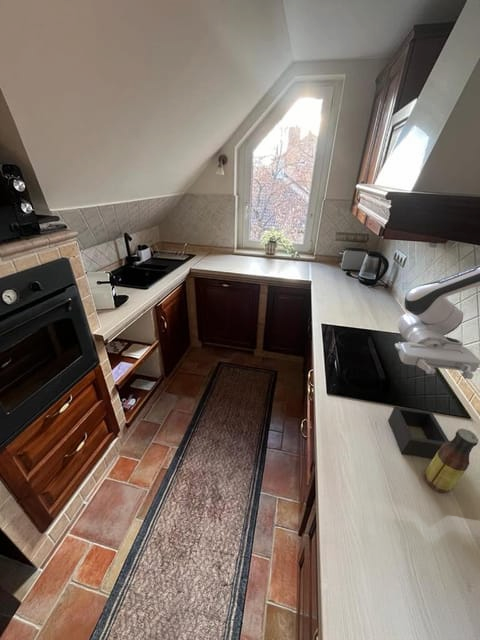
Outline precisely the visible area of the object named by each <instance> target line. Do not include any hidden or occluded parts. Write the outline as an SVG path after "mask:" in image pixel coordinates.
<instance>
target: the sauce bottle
mask: <svg viewBox="0 0 480 640" xmlns="http://www.w3.org/2000/svg"><path fill="white" fill-rule="evenodd" d="M478 443H479V438H478V436H477V435H476V434H475V433H473V432H472V431H471V430H468V429H465V428H459V429H457V431H456V432H455V436H454V437H453V438H452V440H449V441H448V442H445V443H443V445H442V446H441V448H440V449H439V450H438V452H437V453H436V455H435V457H434V458H433V459H431V462H430V463H429V465H428V466H427V468H426V469H425V472H424V479H425V481H426V483H427V484H428V485H429V486H430V487H431V488H432V489H433V490H434V491H437V492H439V493H443V494H445V493H449V492H450V491H451V490H453V488H454V487H455V485H456V484H457V483H458V482H459V480H460V479H461V477H463V475H464V473H465V472H466V471H467V469H468V468H469V466H470V454H471V453H472V450H473V448H474V447H476V446H478Z"/></svg>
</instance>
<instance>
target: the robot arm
mask: <svg viewBox="0 0 480 640" xmlns="http://www.w3.org/2000/svg"><path fill="white" fill-rule="evenodd" d="M474 288H480V264H477V265H475V266H472V267H468V268H466V269H464V270H460V271H458V272H457V273H456V272H455V273H453V274H451V275H447V276H445V277H442V278H440V279H438V280H435V281H432V282H428V283H424V284H420V285H416V286H415V287H413V288H411V289H410V290H409V291H407V293H406V294H405V298H404V305H403V306H404V309H405V310H406V311H408V312H406V313H404V314H402V315H401V316H400V317H399V319H398V321H397V328H398V331H399V334H400V336H401V337H402V339H403V340H404V341H403V342H402V341H398V342H396V343H394V348H395V350H397V354H398V357H399V359H400V361H401V362H402V363H403V364H405V365H409V366H417V367H418V368H420V369H421V370H422V371H425V373H426V374H427V375H432V376H434V375H435V373H436V369H442V370H452V371H453V370H454V371H461V372H462V373H461V377H463V379H467V380H472V379H473V377H474V373H475V372H476V371H477V370H478V369H479V368H480V359H479V357H477V356H476V355H475V354H474V353H473V351H471V350H470V349H469V348H468V347H466V346H464V345H463V344H464V343H463V341H461V340H459V339H456V338H452V337H449V336H446V335H448V334H450V333H452V332H454V331H455V330H456V329H458V327H459V326H461V323H463V320H464V313H463V311H462V310H461V309H460V308H458V307H457V306H456V304H453V302H451V301H450V300H449V299H448V298H447V297H449V296H452V295H455V294H459V293H462V292H464V291H467V290H470V289H474Z"/></svg>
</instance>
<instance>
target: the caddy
mask: <svg viewBox="0 0 480 640" xmlns="http://www.w3.org/2000/svg"><path fill="white" fill-rule="evenodd" d="M387 422H388V425H389V426H390V429H391V432H392V434H393V437H394V439H395V442H396V444H397V447H398V449H399V452H400V454H401V455H406V456H412V457H418V458H423V459H430V460H433V458H434V457H435V455H436V453H437V452H438V450H439V449H440V448H441V446H442V445H443V443H445V442H448V441H450V439H448V436H447V435H446V433H445V432H444V429H443V428H442V427H441V425H440V423H439V421H438V419H437V418H436V417H435V415H434V413H433V412H432V411H430V410H423V409H416V408H408V407H401V406H394V407H393V409H392V411H391V413H390V415H389V417H388V419H387ZM409 427H413V428H419V429H421V430H422V432H423V434H424V436H425V438H423V437H415V436H412V434H411V431H410V429H409Z"/></svg>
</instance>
